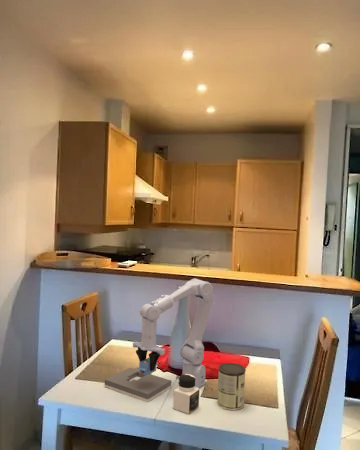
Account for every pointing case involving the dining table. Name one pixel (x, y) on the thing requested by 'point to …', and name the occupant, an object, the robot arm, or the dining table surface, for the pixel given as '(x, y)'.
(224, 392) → the coffee can
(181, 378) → the medicine bottle
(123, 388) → the grey flat block
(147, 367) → the servo
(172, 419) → the dining table surface
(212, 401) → the dining table surface
